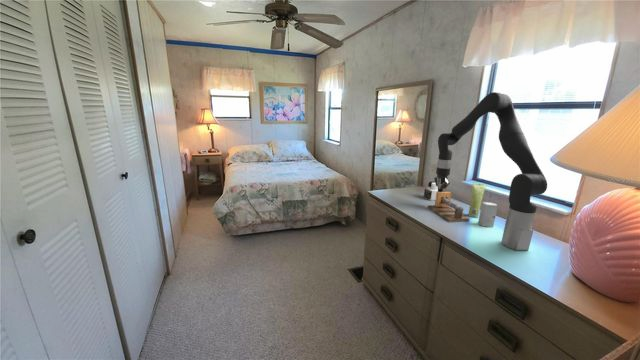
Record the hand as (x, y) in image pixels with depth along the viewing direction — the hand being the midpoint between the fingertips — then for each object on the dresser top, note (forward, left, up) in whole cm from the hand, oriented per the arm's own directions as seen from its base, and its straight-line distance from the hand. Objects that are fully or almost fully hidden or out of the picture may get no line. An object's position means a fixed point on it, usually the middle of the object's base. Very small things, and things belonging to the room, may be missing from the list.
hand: (439, 194), depth 159 cm
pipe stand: (-10, 0, -9) cm, 13 cm away
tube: (-14, -14, -9) cm, 22 cm away
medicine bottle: (+18, -6, -9) cm, 21 cm away
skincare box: (-26, -12, -9) cm, 30 cm away
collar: (-4, 0, -6) cm, 7 cm away
